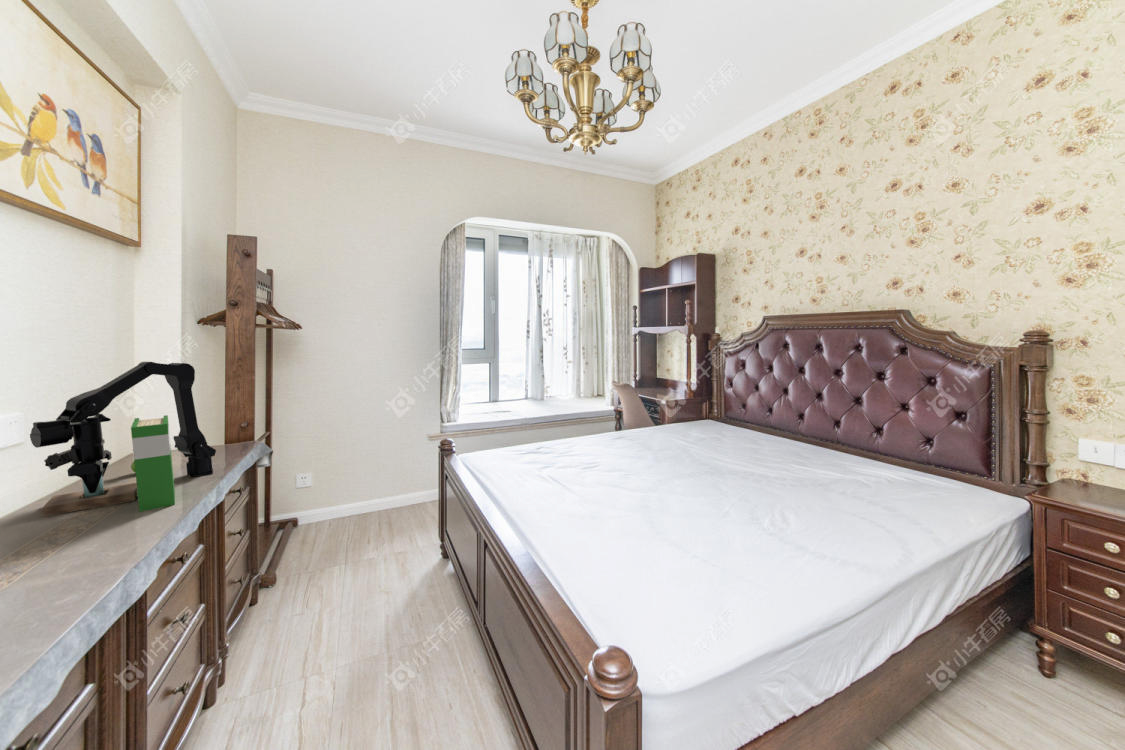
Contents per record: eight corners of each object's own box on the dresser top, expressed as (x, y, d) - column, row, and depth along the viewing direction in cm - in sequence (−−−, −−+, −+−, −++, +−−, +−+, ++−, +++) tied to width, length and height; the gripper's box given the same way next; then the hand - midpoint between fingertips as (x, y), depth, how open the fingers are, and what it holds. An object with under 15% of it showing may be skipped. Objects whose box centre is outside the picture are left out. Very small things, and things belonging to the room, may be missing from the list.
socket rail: (139, 489, 138) (139, 482, 138) (135, 500, 129) (134, 492, 129) (54, 504, 127) (53, 495, 126) (43, 516, 118) (42, 507, 118)
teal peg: (105, 492, 131) (103, 473, 130) (102, 496, 128) (100, 476, 127) (86, 495, 128) (83, 475, 128) (82, 499, 125) (80, 479, 124)
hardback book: (142, 494, 134) (134, 418, 132) (174, 488, 139) (167, 415, 137) (139, 511, 121) (130, 427, 119) (174, 504, 126) (167, 423, 124)
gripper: (55, 437, 128) (61, 488, 130) (35, 450, 114) (43, 507, 115) (109, 431, 135) (114, 480, 137) (97, 443, 121) (103, 497, 122)
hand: (94, 490), depth 128 cm, fingers closed on teal peg, 4 cm apart
